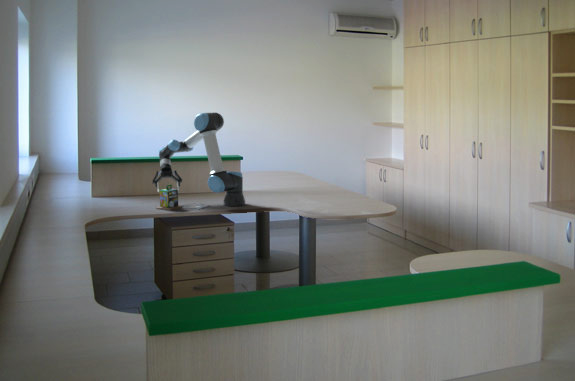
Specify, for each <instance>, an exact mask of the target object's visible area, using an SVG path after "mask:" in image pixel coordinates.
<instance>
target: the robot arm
mask: <svg viewBox="0 0 575 381" xmlns="http://www.w3.org/2000/svg"><path fill="white" fill-rule="evenodd" d="M224 123H225V120H224V117H223V116H222V114H220V113H218V112H202V113H201V112H200V113H198V114H197V115H196V116H195V118H194V121H193V125H194V129H196V131H195V132H194V133H192V134H191V135H190V136H188V137H187V138H186V139H185V140H183V141H178V140H176V139H172V140H170V141H169V142H168V143H167V145H166V146H163V147H161V148H159V151H158V156H159V158H158V159H159V165H160V171H159V170H157V171H156V174H155V176H154V177H153V180H152V184H153V185H154V186H155V188H157V192H158V193H160V192H159V190H160V186H159V182H161V181H162V180H163V179H166V178H167V179H168V178H170V179H172V180H174V181H175V182H176V187H177V188H176V189H178V192H180V187H181V183H183V178H182V177H181V176H180V175H179V174H178V172H177V170H174V171H173V170H172V162H171V158H172V157H173V156H174V154H177V153H188V152H192V151H193V150H194V148H195V146H197V145H198V144H199V143H201V142H202V141H203V143H204V146H205V151H206V156H207V159H208V164H209V168H210V169H209V170H210V172H209V174H208V175H209V177H208V179H207V186H208V189H209V190H210V191H211V192H213V193H219V194H220V193H224V192H225V195H224V198H223V206H226V207H242V206H246V199H245V196H244V191H243V188H244V187H243V182H244V181H243V180H244V179H243V173H242V172H241V171H231V170H230V171H227V169H225V168H224V165H223V160H222V155H221V152H220V147H219V143H218V139H217V133H218V131H220V130H221V129H222V128H223V127H224Z"/></svg>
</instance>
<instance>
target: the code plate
mask: <svg viewBox="0 0 575 381" xmlns="http://www.w3.org/2000/svg"><path fill="white" fill-rule="evenodd" d="M210 206H211V205H210V204H209V205H207V204H197V203H196V204H195V203H192V204H188V205H183V207H181V208H180V209H188V208H190V209H191V210H201V209H204V208H208V207H210ZM190 209H189V210H190Z"/></svg>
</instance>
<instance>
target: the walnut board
mask: <svg viewBox="0 0 575 381" xmlns="http://www.w3.org/2000/svg"><path fill="white" fill-rule="evenodd" d="M181 207H184V205H183V204H182V205H181V204H180V205H179V204H178V206H176V207H170V208H166V207H160V205H159V206H155V209H156V210H164V211H168V210H169V211H174V210H178V209H182V208H181Z"/></svg>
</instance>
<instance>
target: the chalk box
mask: <svg viewBox="0 0 575 381" xmlns="http://www.w3.org/2000/svg"><path fill="white" fill-rule="evenodd" d="M172 187H173V184H167V185H166V188H163V189H159V192H158V193H159V206H160V207H166V208H170V207H176V206H178V205H179V191H178V189H177V188H172Z"/></svg>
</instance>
